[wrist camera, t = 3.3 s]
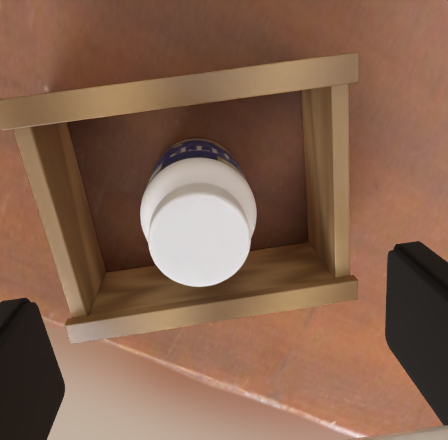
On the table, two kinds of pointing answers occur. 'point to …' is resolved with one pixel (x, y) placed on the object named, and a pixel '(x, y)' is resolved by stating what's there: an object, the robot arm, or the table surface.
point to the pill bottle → (198, 213)
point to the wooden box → (152, 276)
